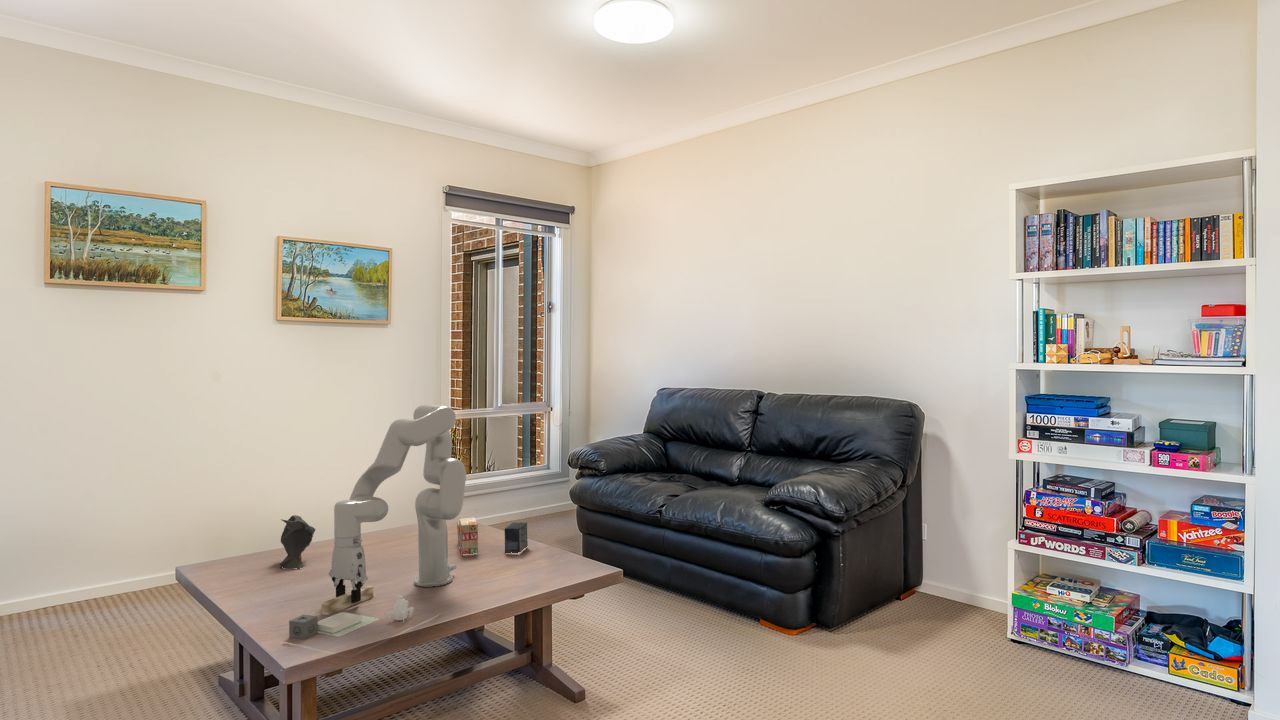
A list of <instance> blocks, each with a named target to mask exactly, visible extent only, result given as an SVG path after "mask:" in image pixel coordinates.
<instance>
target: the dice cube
mask: <svg viewBox="0 0 1280 720" xmlns="http://www.w3.org/2000/svg"><path fill="white" fill-rule="evenodd" d="M318 621H319V617H318V615H309V614H301V615H298V616H297V617H294V618H292V619H290V620H289V621H288V624H289V625H288V628H289V629H288V630H289V631H288V632H289V633H288V634H289V637H288V638H289V639H298V640H306V639H309V638H310V637H313V636H314V635H316V634H318Z"/></svg>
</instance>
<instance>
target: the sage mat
mask: <svg viewBox="0 0 1280 720" xmlns="http://www.w3.org/2000/svg"><path fill="white" fill-rule="evenodd" d="M343 612H344V613H349V614H354V615H358V614H357V613H351V612H347V611H343ZM359 615H360V616H362V621H361V622H359V623H356V624H354V625H352V626H349V627H347V628H345V629H342V630H340V631H338V632H335V633H330V632H326V631H321V630H318V633H319V634H323V635H327V636H332V637H337V638H339V637H342V636H344V635H347V634H349V633H351V632H353V631H356V630H358V629H360V628H362V627H365V626H367V625H369V624H372V623H374V622H377V621H379V620H380V618H377V617H373V616H372V617H371V616H367V615H363V614H362V615H361V614H359ZM318 633H317V634H318Z"/></svg>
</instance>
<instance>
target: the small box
mask: <svg viewBox="0 0 1280 720" xmlns="http://www.w3.org/2000/svg"><path fill="white" fill-rule="evenodd" d="M528 542H529V541H528V522H511V523H510V524H509V525H507V526H506V527H504V554H505V553H511V552H512V553H518V552H521V551H522V550H523V549H524V548H526V547H527V546H528V544H529V543H528ZM528 547H529V546H528Z"/></svg>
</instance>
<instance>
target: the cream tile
mask: <svg viewBox="0 0 1280 720" xmlns="http://www.w3.org/2000/svg"><path fill="white" fill-rule="evenodd" d="M344 612H345V611H343V612H342V611H339V612H337V613H335V614H332V615H331V616H330V615H329V617H326V618H323V619H320V620H318V630H321V631H326V632H330V633H335V632H338V631H340V630H342V629H345V628H347V627H349V626H352V625H354V624H356V623H359V622H361V621H362V616H360V615H361V614H357V615H354V614H355V613H352V614H349V613H350V612H347V613H344Z"/></svg>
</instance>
